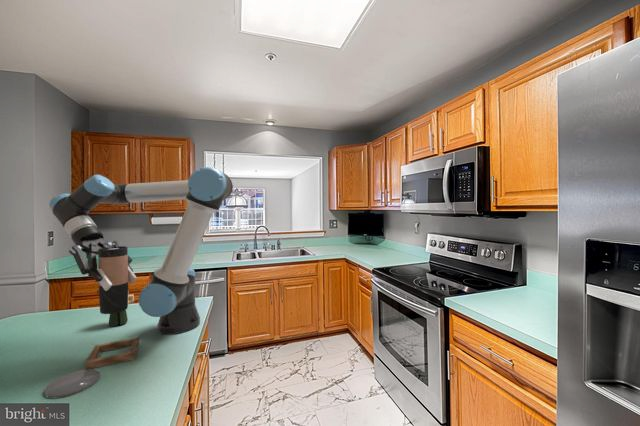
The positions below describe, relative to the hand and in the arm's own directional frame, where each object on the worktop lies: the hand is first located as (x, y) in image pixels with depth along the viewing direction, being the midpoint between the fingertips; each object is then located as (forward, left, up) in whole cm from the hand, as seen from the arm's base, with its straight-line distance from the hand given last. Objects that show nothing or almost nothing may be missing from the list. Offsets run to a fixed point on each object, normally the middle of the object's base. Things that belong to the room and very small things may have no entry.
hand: (121, 284), depth 87 cm
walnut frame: (+2, -2, -23) cm, 23 cm away
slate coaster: (+9, +11, -23) cm, 27 cm away
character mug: (+5, -31, -23) cm, 40 cm away
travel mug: (+2, -2, -9) cm, 9 cm away
